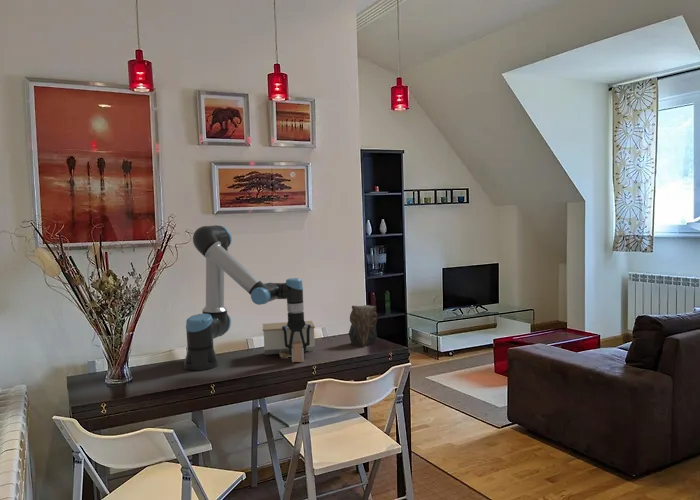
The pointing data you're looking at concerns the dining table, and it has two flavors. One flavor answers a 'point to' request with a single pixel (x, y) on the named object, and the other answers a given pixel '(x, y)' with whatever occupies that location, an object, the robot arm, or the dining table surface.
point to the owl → (363, 325)
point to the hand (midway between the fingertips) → (297, 361)
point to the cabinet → (276, 337)
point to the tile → (285, 354)
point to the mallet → (295, 351)
